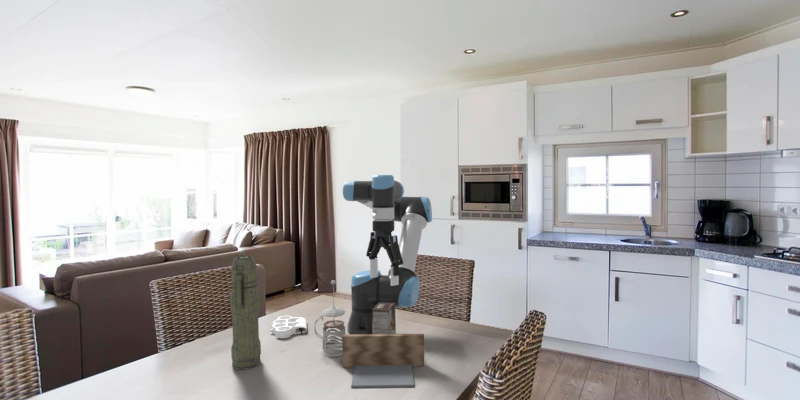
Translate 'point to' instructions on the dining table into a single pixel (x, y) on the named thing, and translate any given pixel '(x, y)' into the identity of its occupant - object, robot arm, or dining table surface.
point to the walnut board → (383, 349)
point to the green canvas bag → (245, 313)
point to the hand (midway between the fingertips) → (383, 281)
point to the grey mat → (382, 376)
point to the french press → (332, 346)
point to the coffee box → (383, 318)
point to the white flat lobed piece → (288, 326)
